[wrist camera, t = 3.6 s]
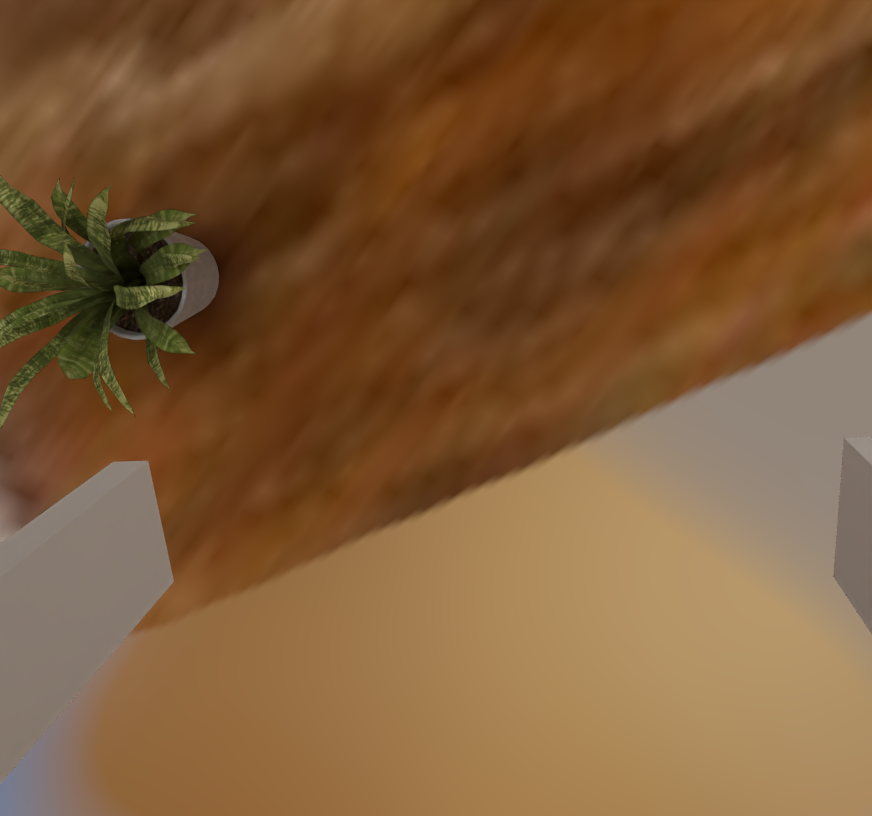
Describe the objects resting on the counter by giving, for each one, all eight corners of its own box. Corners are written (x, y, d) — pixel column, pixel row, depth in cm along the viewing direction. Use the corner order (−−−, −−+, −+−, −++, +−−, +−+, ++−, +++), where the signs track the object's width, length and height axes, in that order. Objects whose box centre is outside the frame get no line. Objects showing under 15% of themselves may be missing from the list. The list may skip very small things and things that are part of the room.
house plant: (258, 427, 53) (122, 506, 38) (76, 364, 55) (-127, 414, 39) (308, 220, 50) (181, 212, 34) (112, 159, 51) (-96, 124, 36)
